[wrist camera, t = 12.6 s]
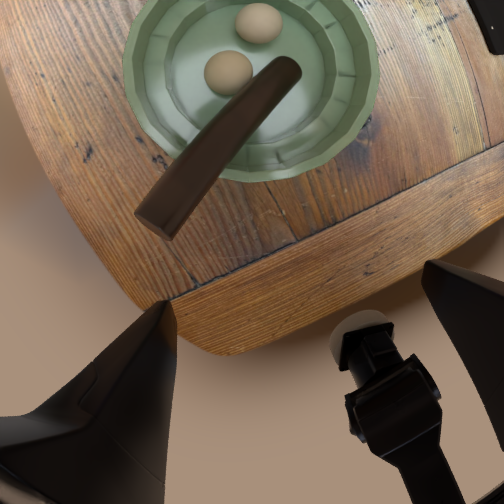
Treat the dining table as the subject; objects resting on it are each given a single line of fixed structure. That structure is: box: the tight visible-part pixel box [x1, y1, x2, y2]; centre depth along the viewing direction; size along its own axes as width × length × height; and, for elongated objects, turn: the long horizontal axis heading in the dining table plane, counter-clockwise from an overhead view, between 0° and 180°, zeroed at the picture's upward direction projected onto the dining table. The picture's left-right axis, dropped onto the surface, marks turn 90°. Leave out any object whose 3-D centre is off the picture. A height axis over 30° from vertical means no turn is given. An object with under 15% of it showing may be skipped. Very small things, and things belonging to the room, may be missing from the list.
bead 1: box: [204, 50, 253, 95], centre depth 15 cm, size 3×3×3 cm
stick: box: [134, 56, 302, 241], centre depth 14 cm, size 2×2×13 cm
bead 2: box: [235, 3, 283, 44], centre depth 14 cm, size 3×3×3 cm
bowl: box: [122, 0, 380, 183], centre depth 15 cm, size 14×14×5 cm
